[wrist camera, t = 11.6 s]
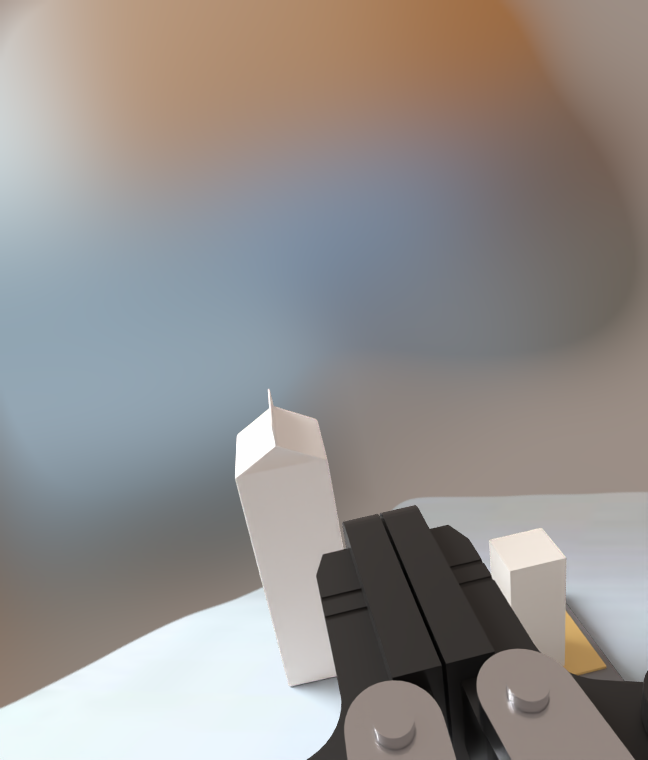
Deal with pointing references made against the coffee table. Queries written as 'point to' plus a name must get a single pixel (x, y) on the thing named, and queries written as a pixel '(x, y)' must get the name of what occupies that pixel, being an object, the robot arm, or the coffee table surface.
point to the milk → (290, 531)
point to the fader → (533, 586)
